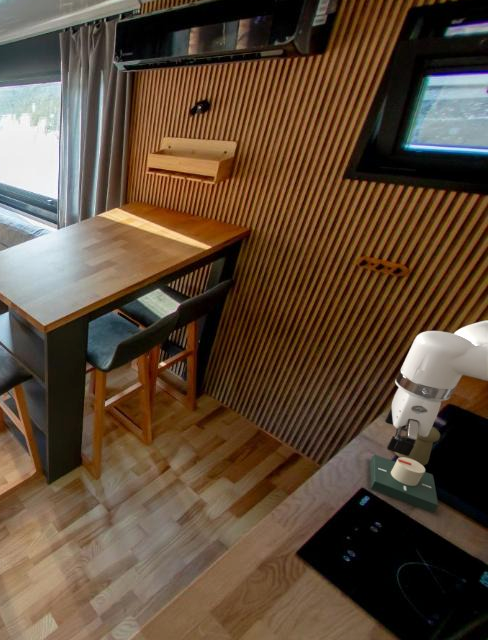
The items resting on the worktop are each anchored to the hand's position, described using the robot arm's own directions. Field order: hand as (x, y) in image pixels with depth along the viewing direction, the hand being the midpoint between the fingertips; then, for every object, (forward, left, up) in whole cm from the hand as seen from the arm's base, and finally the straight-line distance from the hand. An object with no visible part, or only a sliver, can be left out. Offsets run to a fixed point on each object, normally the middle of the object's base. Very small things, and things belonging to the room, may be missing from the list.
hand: (396, 437), depth 85 cm
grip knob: (-5, -5, -16) cm, 17 cm away
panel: (-5, -5, -19) cm, 20 cm away
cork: (-8, -18, -19) cm, 27 cm away
